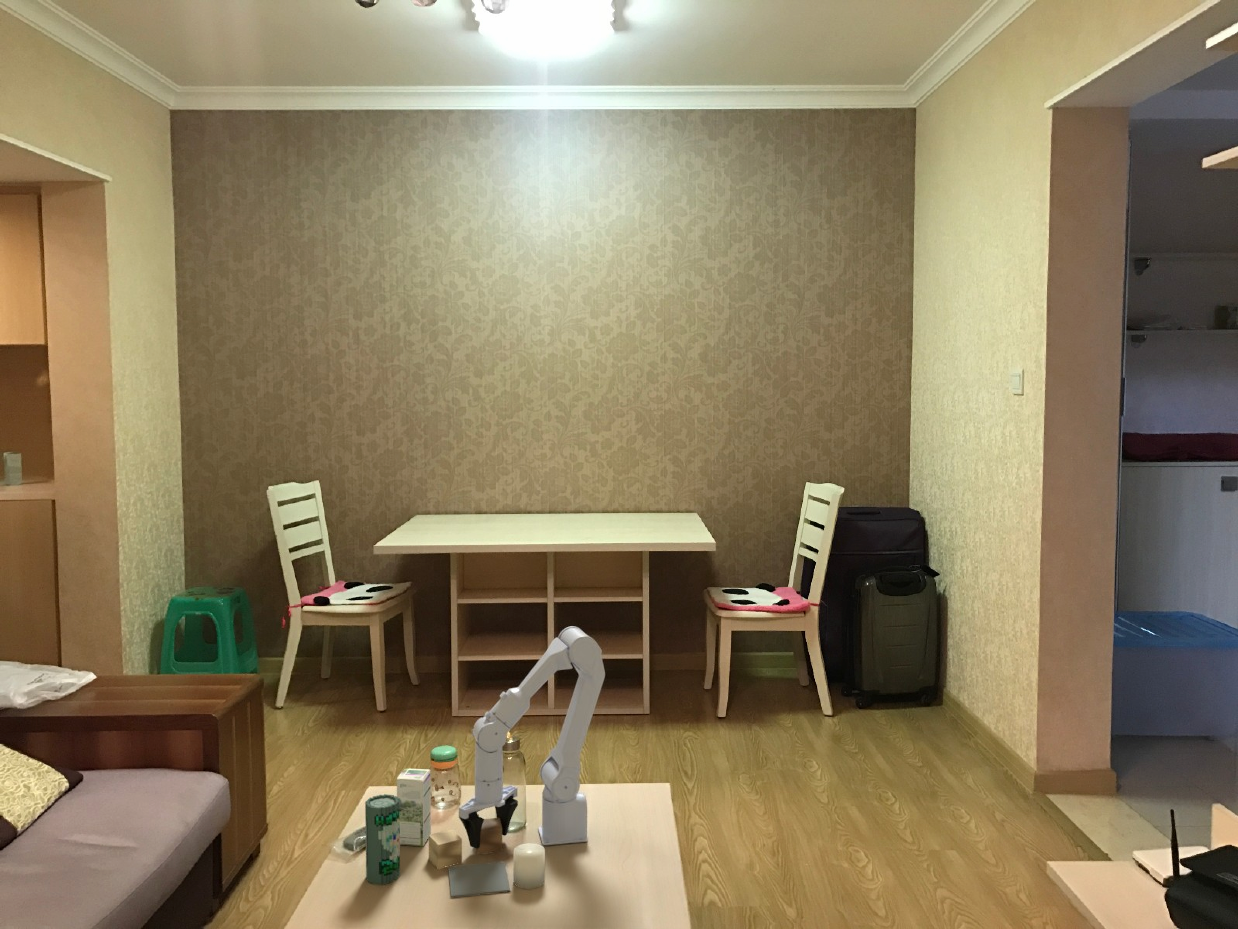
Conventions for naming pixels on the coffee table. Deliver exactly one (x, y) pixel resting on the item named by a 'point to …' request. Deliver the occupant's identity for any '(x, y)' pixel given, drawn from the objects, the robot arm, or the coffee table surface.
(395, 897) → the coffee table surface
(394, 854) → the can
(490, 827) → the walnut block
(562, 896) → the coffee table surface
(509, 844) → the coffee table surface
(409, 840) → the syrup box
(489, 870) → the rubber mat
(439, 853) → the oak block
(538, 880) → the white pillar candle
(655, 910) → the coffee table surface
